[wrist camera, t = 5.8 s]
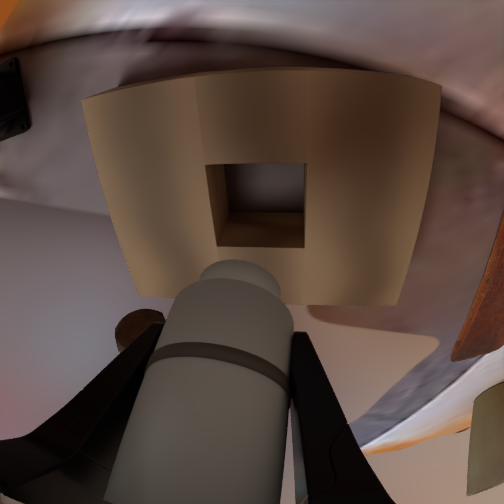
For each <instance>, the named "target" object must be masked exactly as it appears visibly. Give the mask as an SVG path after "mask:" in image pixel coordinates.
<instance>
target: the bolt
mask: <svg viewBox="0 0 504 504" xmlns="http://www.w3.org/2000/svg"><path fill="white" fill-rule="evenodd" d="M153 322H159V323H165V322H166V320H165V318H164V316H163V313H162V312H159V311H156V310H152V309H139V310H136V311H134V312H131V313H129V314H127V315H126V316H125V317H123V318H122V320H121V321H120V322H119V323H118V325H117V327H116V328H115V338H116V343H117V347H118V351H119V352H120V353H121V352H122V351H123V350H124V349H125V348H126V347H127V346H128V345H129V344H130V343H131V342H133V341H134V340H135V339H136V338H137V337H138V336H139V335H140V334H141V333H142V332H143V331H144V330H145V329H146V328H147V327H148V326H150V325H151V324H152V323H153Z"/></svg>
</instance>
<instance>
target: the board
mask: <svg viewBox="0 0 504 504" xmlns="http://www.w3.org/2000/svg"><path fill="white" fill-rule="evenodd" d="M441 89H442V86H440V85H437V84H434V83H431V82H428V81H425V80H422V79H418V78H415V77H411V76H404V75H398V74H391V73H383V72H375V71H366V70H355V69H342V68H324V67H259V68H241V69H227V70H217V71H207V72H199V73H191V74H184V75H177V76H171V77H165V78H159V79H153V80H148V81H143V82H138V83H133V84H129V85H124V86H120V87H116V88H113V89H110V90H107V91H104V92H101V93H99V94H96V95H93V96H90V97H88V98H85V99H82V100H81V101H82V106H83V111H84V116H85V121H86V126H87V130H88V135H89V139H90V143H91V148H92V152H93V156H94V160H95V164H96V167H97V171H98V175H99V179H100V182H101V186H102V189H103V193H104V196H105V199H106V203H107V206H108V209H109V213H110V216H111V219H112V222H113V225H114V228H115V231H116V234H117V237H118V240H119V243H120V246H121V249H122V252H123V254H124V257H125V260H126V263H127V266H128V268H129V271H130V273H131V276H132V278H133V281H134V284H135V287H136V289H137V292H138V294H139V296H151V297H164V298H176V297H177V295H178V294H179V293H180V291H181V290H183V289H184V288H185V287H187V286H189V285H190V284H192V283H195V282H198V280H199V277H200V275H201V274H202V272H203V271H204V270H205V269H206V268H207V267H208V266H210V265H211V264H213V263H216V262H218V261H222V260H229V259H237V260H244V261H249V262H252V263H255V264H257V265H259V266H261V267H263V268H264V269H266V270H267V271H268V272H270V273H271V274H272V275H273V276H274V277H275V279H276V280H277V282H278V284H279V286H280V290H281V299H280V300H281V301H282V302H283V303H284V304H297V305H298V304H299V305H397V302H398V299H399V296H400V293H401V290H402V287H403V284H404V280H405V277H406V274H407V271H408V267H409V264H410V261H411V257H412V254H413V250H414V246H415V243H416V239H417V235H418V231H419V227H420V223H421V219H422V215H423V210H424V206H425V201H426V196H427V192H428V187H429V181H430V176H431V171H432V165H433V159H434V152H435V146H436V138H437V131H438V122H439V113H440V102H441ZM239 163H304V213H286V212H229V206H228V197H227V188H226V179H225V170H224V164H239Z"/></svg>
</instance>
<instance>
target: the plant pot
mask: <svg viewBox="0 0 504 504" xmlns="http://www.w3.org/2000/svg"><path fill="white" fill-rule="evenodd" d="M502 483H504V383H500V384H498V385H496V386H494V387H492V388H490V389H488V390H486V391H485V392H483V393H482V394H481V395H480V396H478V397H477V398H476V400H475V401H474V406H473V414H472V423H471V433H470V443H469V457H468V474H467V496H471V495H474V494H477V493H480V492H482V491H485V490H488V489H490V488H493V487H495V486H498V485H500V484H502Z"/></svg>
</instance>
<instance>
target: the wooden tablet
mask: <svg viewBox="0 0 504 504" xmlns="http://www.w3.org/2000/svg"><path fill="white" fill-rule="evenodd" d="M503 345H504V213H503V216H502V220H501V223H500V227H499V230H498V233H497V237H496V240H495V243H494V246H493V249H492V252H491V255H490V258H489V261H488V264H487V267H486V270H485V273H484V276H483V279H482V281H481V284H480V287H479V289H478V291H477V294H476V297H475V299H474V302H473V304H472V306H471V309H470V311H469V314H468V316H467V318H466V321H465V323H464V325H463V328H462V330H461V332H460V334H459V337H458V340H457V341H456V344H455V346H454V349H453V351H452V354H451V361H452V362H454V361H461V360H465V359H469V358H474V357H476V356H478V355H481V354H482V355H483V354H487V353H490V352H492V351H495V350H498V349H499V348H501V347H502V346H503Z"/></svg>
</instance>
